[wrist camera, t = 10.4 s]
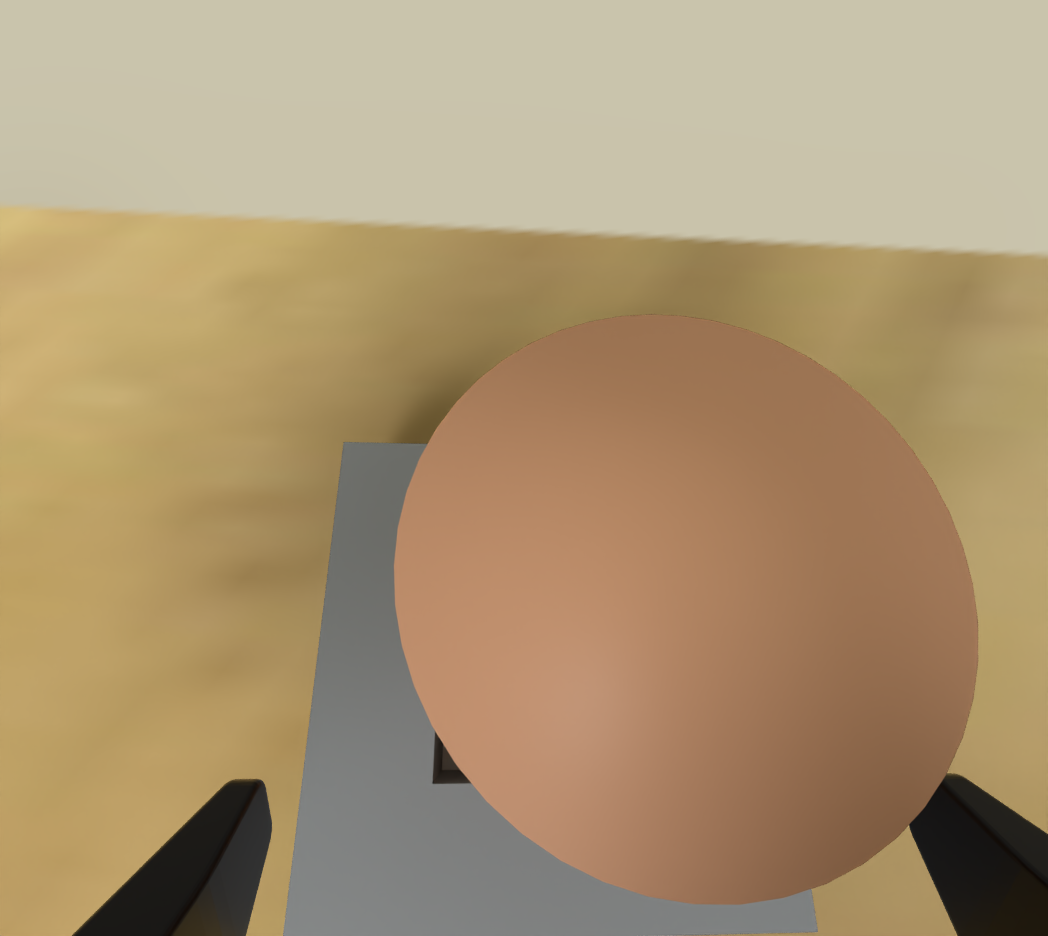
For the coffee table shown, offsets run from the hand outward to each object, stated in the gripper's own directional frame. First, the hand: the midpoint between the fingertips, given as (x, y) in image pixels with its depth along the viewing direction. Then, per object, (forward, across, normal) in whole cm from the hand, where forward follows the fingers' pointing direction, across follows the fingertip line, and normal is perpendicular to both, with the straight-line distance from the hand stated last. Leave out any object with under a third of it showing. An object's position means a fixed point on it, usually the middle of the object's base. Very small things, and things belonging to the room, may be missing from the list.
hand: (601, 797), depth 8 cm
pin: (+8, 0, +5) cm, 10 cm away
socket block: (+9, 0, +5) cm, 10 cm away
